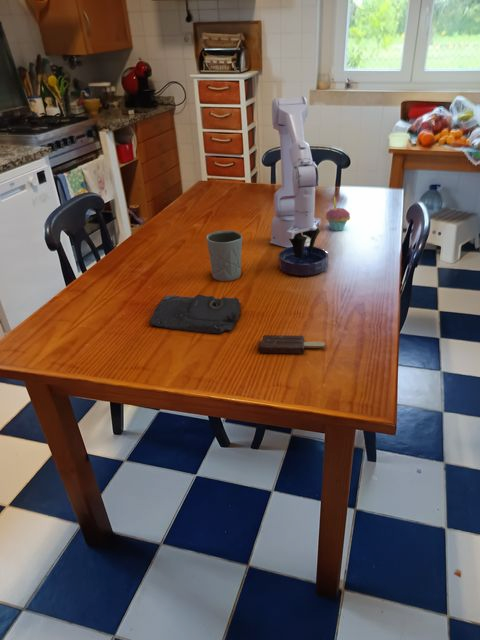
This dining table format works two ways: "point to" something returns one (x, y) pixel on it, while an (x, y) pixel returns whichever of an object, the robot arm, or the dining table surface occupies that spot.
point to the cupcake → (337, 217)
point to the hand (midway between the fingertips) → (303, 254)
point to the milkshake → (304, 252)
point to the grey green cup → (225, 254)
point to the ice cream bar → (286, 344)
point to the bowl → (314, 266)
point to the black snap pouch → (197, 313)
